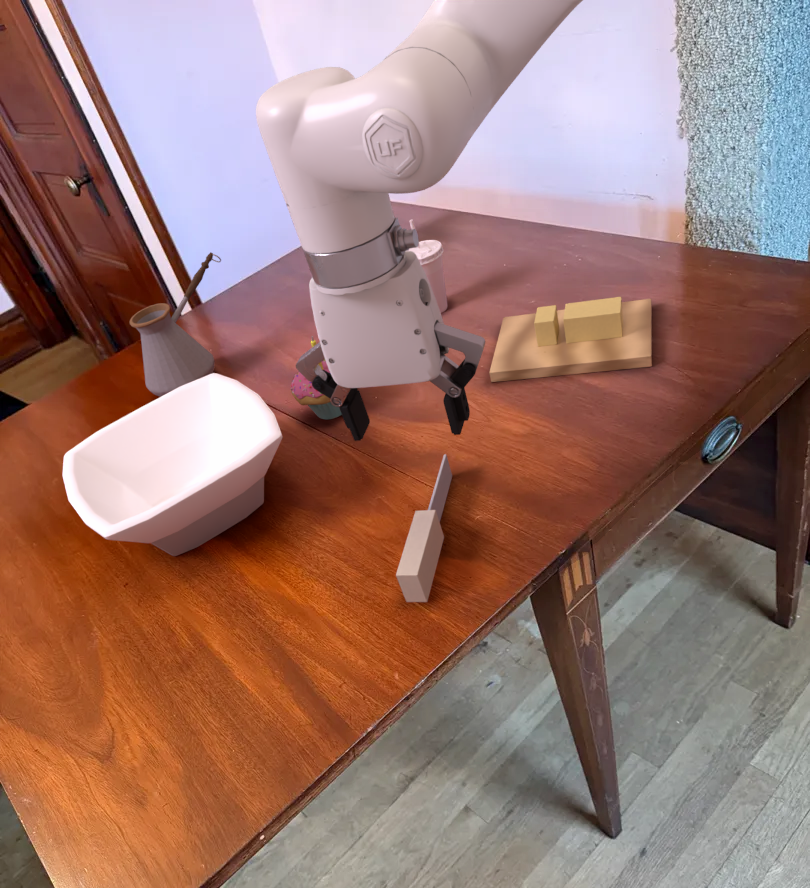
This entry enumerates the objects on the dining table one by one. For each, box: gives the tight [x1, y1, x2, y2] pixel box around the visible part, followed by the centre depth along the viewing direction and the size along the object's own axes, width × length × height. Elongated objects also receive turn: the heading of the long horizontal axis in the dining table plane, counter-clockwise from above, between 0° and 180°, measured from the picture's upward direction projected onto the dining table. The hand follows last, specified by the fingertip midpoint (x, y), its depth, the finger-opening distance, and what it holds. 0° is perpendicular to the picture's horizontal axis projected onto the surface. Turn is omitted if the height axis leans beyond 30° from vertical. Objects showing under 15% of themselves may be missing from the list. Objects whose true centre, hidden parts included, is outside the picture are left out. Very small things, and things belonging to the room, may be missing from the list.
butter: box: [563, 296, 623, 343], centre depth 96 cm, size 7×4×4 cm, turn 76°
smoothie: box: [405, 218, 449, 314], centre depth 112 cm, size 6×6×14 cm
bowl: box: [61, 372, 284, 557], centre depth 91 cm, size 24×25×10 cm
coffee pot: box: [129, 252, 222, 397], centre depth 117 cm, size 21×12×15 cm, turn 145°
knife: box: [395, 453, 453, 603], centre depth 79 cm, size 19×2×4 cm, turn 166°
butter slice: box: [534, 304, 559, 347], centre depth 98 cm, size 2×4×4 cm, turn 166°
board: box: [488, 298, 653, 383], centre depth 99 cm, size 20×14×2 cm
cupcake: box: [289, 335, 342, 421], centre depth 99 cm, size 9×8×12 cm
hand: (410, 428), depth 70 cm, fingers open, 9 cm apart
